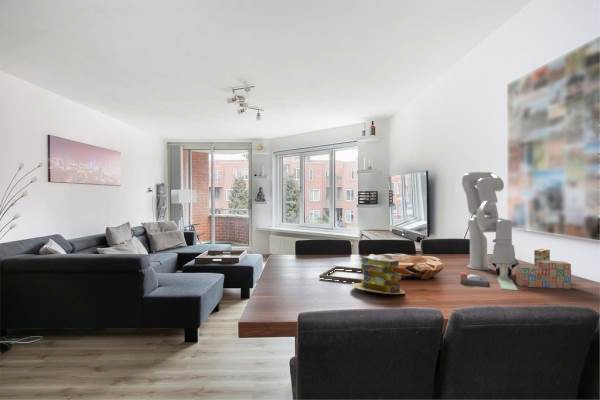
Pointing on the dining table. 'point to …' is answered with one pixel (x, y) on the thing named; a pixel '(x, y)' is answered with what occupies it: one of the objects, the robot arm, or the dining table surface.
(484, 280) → the grey stepped block
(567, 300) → the dining table surface
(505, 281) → the track
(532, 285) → the stack of blocks
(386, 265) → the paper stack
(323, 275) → the frame
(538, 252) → the candy box
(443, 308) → the dining table surface
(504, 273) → the pawn
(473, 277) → the dome
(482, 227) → the robot arm
